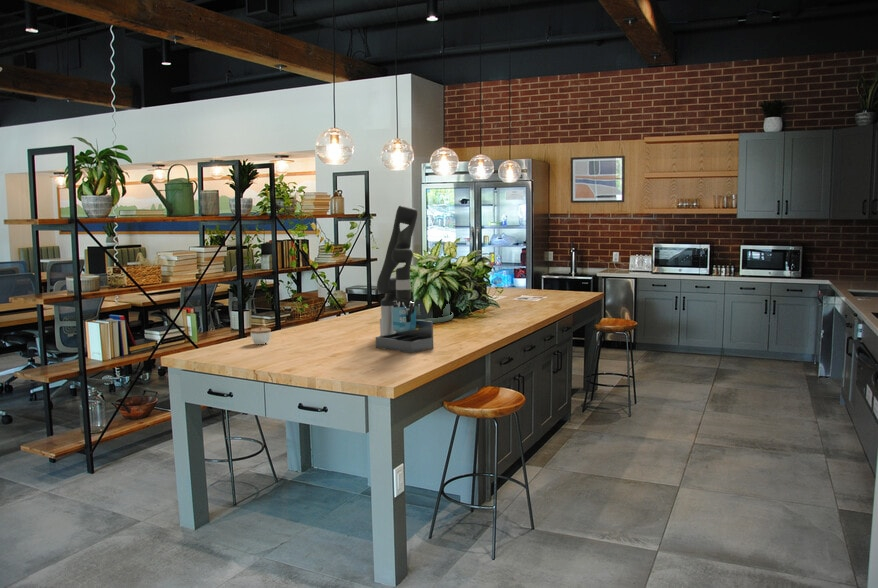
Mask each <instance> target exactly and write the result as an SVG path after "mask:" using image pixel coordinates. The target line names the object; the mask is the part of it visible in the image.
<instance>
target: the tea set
mask: <svg viewBox="0 0 878 588" xmlns="http://www.w3.org/2000/svg"><path fill="white" fill-rule="evenodd" d="M415 308H416V317H417V315H419V316H420V315H421V314H420V313H421V312H420V304H418V307H417V306H415ZM450 312H451V303H450V304H449V303H448V304H446V306H445V308H444V309H443V314H442V316H443V317H438V318H426V319H416V320H423V321H432V322H433V324H437V323H439V324H440V323H445V322H448V321H451V320H452V319H454V318H453V317H454V312H451V313H452V314H451V315H450Z"/></svg>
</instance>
